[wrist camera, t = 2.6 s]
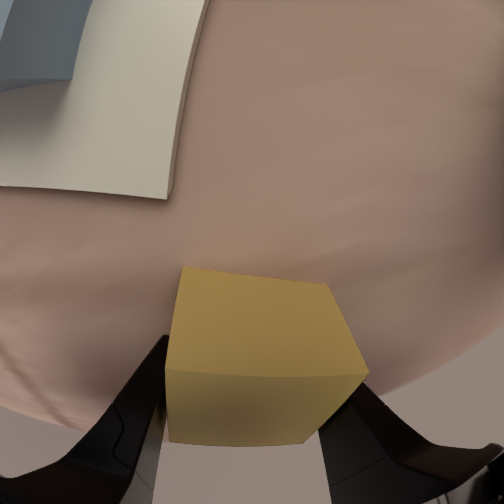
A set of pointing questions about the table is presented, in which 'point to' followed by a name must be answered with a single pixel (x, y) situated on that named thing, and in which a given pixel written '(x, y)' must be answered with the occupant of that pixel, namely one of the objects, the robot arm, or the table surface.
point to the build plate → (108, 104)
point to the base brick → (39, 40)
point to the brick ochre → (256, 360)
